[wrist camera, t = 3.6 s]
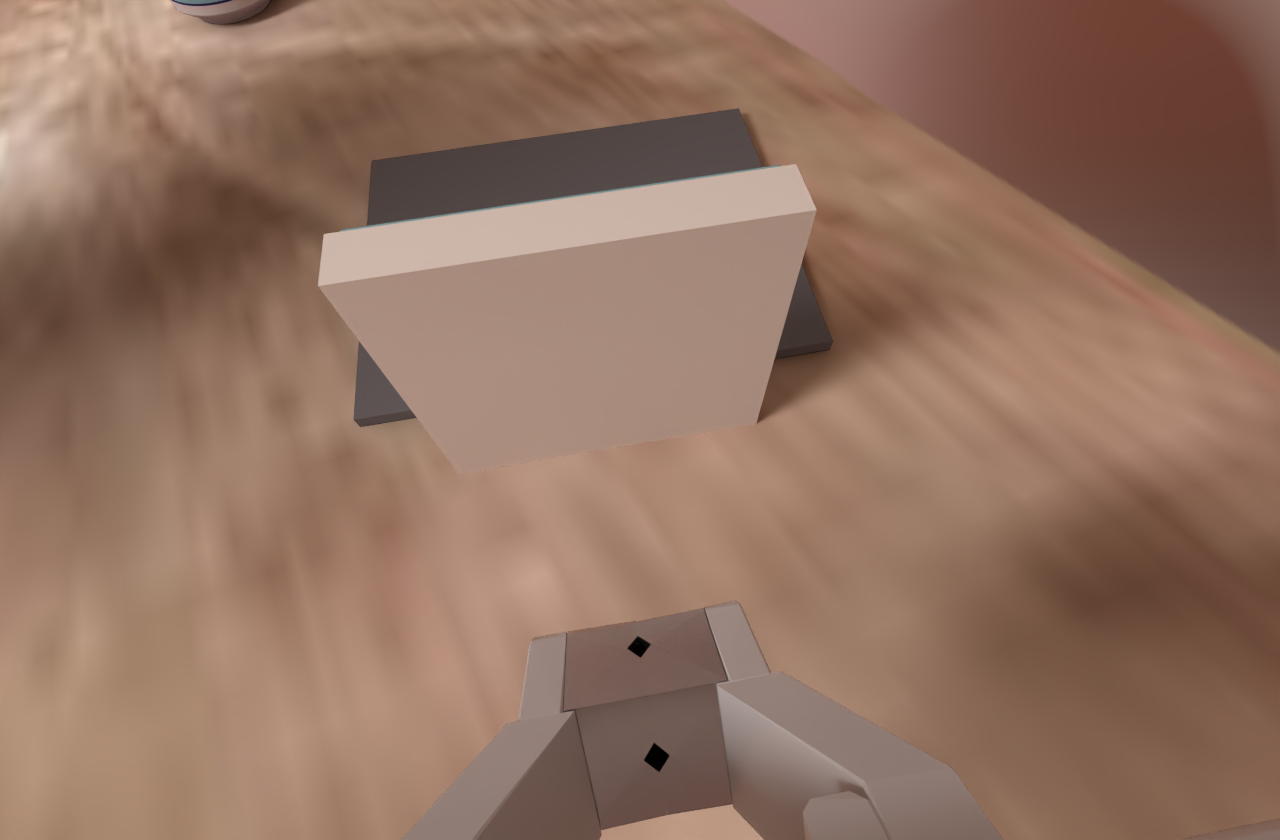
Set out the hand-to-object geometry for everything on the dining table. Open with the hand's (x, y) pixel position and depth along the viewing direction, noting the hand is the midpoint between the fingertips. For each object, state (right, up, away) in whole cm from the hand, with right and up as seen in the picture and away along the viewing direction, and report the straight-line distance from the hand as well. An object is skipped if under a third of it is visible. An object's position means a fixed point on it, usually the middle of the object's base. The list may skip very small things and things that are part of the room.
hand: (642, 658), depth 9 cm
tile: (-1, +3, +16) cm, 16 cm away
